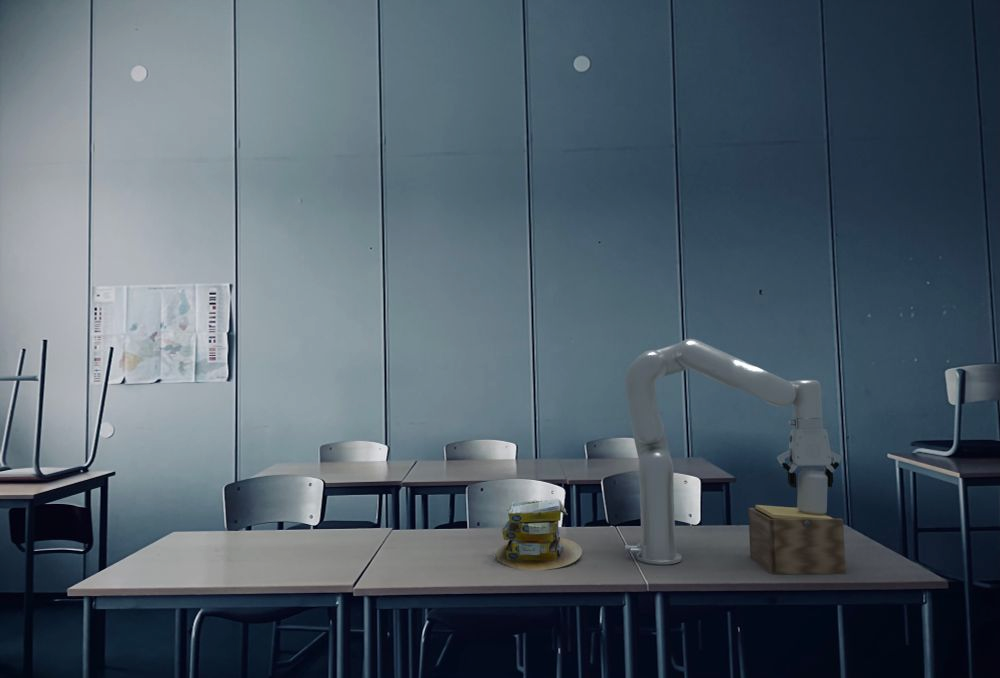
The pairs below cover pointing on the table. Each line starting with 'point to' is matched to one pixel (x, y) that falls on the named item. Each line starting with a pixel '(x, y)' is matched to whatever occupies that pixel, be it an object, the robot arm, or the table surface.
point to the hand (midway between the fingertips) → (810, 486)
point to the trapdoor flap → (788, 513)
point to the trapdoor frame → (797, 544)
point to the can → (812, 491)
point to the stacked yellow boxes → (536, 537)
